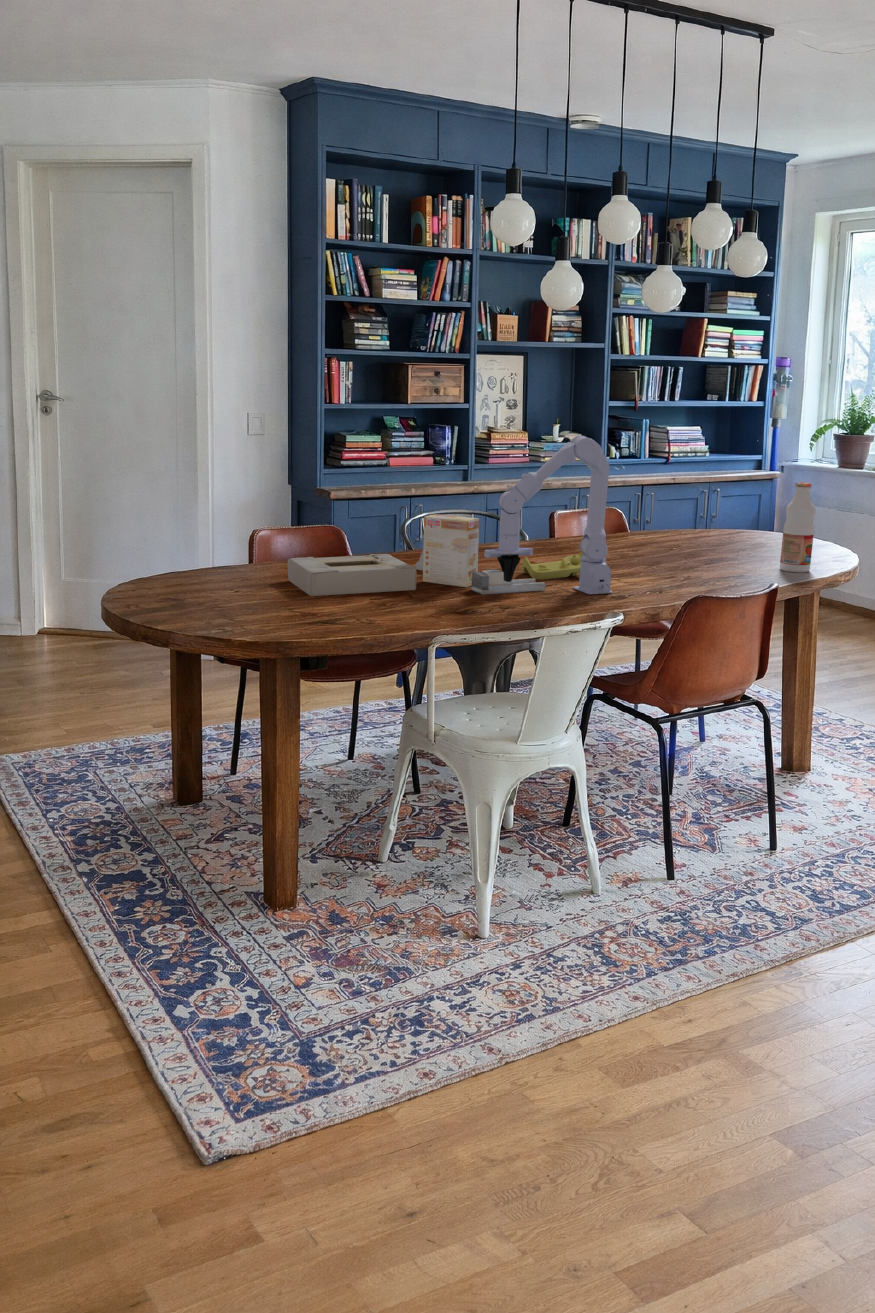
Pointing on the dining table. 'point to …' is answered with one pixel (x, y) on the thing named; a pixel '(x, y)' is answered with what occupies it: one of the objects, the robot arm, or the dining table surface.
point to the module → (494, 577)
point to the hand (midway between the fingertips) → (507, 581)
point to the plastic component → (553, 568)
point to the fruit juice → (798, 531)
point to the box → (351, 574)
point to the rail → (504, 585)
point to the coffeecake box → (450, 549)
